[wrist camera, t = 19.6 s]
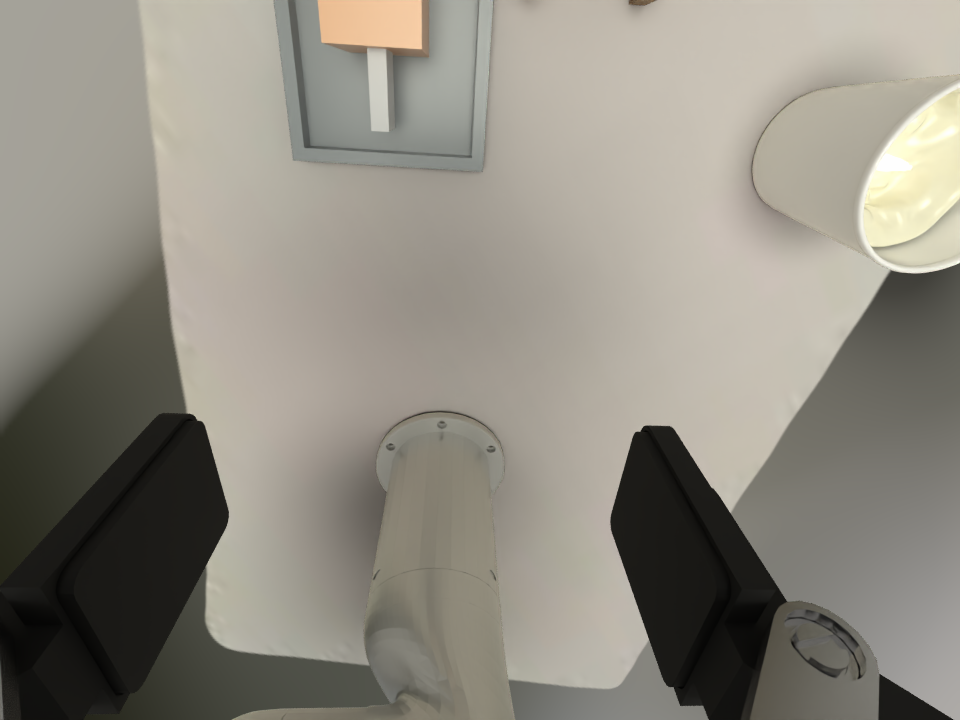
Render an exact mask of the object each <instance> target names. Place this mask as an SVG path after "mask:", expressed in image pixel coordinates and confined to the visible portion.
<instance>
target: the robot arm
mask: <svg viewBox="0 0 960 720" xmlns="http://www.w3.org/2000/svg"><path fill="white" fill-rule="evenodd" d="M376 474H377V477H378V480H379V482H380V484H381V486H382V487H383V489H384V490H385V492H386V493H387V495H386V501H385V506H384V512H383V518H382V523H381V529H380V535H379V540H378V546H377V552H376V557H375V563H374V569H373V574H372V580H371V586H370V591H369V597H368V603H367V608H366V614H365V620H364V645H365V650H366V655H367V659H368V661H369V664H370V667H371V669H372V672H373V674H374V675H375V677H376V679H377V681H378V683H379V685H380V687H381V688H382V690H383V692H384V693H385V695H386V696H387V698H388V700H389V702H390V703H391V704H388V705H376V706H368V707H364V708H295V709H294V708H293V709H272V710H261V711H255V712H250V713H247V714H244V715H241V716H239V717H237V718H235V719H232V720H515V717H514V712H513V706H512V700H511V695H510V689H509V683H508V676H507V668H506V661H505V652H504V643H503V632H502V621H501V609H500V599H499V586H498V574H497V562H496V550H495V537H494V525H493V513H492V500H491V496H492V495H493V493H494V492H495V491H496V490H497V488H498V487H499V485H500V483H501V481H502V478H503V474H504V456H503V451H502V448H501V446H500V443H499V441H498V440H497V439H496V437H495V436H494V434H493V433H492V432H491V431H490V430H489V429H487V428H486V427H485V426H484V425H482V424H480V423H479V422H477V421H476V420H473V419H471V418H468V417H466V416H463V415H458V414H454V413H443V412H436V413H426V414H422V415H418V416H414V417H412V418H409V419H407V420H405V421H403V422H401V423H400V424H398V425H397V426H395V427H394V428H393V429H392V430H391V431H390V432H389V433H388V434H387V435H386V436H385V438H384V439H383V441H382V443H381V444H380V447H379V450H378V453H377V459H376ZM228 518H229V511H228V507H227V503H226V500H225V496H224V493H223V489H222V485H221V482H220V478H219V475H218V471H217V468H216V464H215V460H214V457H213V453H212V450H211V446H210V442H209V439H208V435H207V432H206V428H205V425H204V423H203V422H202V421H197V419H196V417H195V416H194V415H192V414H178V413H176V414H175V413H162V414H159V415H158V416H157V417H156V418H155V419H154V420H153V421H152V422H151V423H150V424H149V425H148V426H147V427H146V428H145V430H144V431H143V432H142V433H141V434H140V435H139V436H138V437H137V438H136V439H135V440H134V442H133V443H132V444H131V445H130V446H129V447H128V448H127V449H126V450H125V451H124V452H123V453H122V455H121V456H120V457H119V458H118V459H117V460H116V461H115V462H114V463H113V464H112V465H111V466H110V468H109V469H108V470H107V471H106V472H105V473H104V474H103V475H102V476H101V477H100V478H99V479H98V480H97V482H96V483H95V484H94V485H93V486H92V487H91V488H90V489H89V490H88V491H87V492H86V494H85V495H84V496H83V497H82V498H81V499H80V500H79V501H78V502H77V503H76V504H75V505H74V506H73V507H72V509H71V510H70V511H69V512H68V513H67V514H66V515H65V516H64V517H63V518H62V520H61V521H60V522H59V523H58V524H57V525H56V526H55V527H54V528H53V529H52V530H51V531H50V533H48V535H47V536H46V537H45V538H44V539H43V540H42V541H41V542H40V543H39V544H38V545H37V547H36V548H35V549H34V550H33V551H32V552H31V553H30V554H29V555H28V556H27V557H26V558H25V559H24V561H23V562H22V563H21V564H20V565H19V566H18V567H17V568H16V569H15V570H14V571H13V572H12V574H11V575H10V576H9V577H8V578H7V579H6V580H5V581H4V582H3V583H2V584H1V585H0V720H83V719H84V718H85V716H86V714H119V713H120V711H121V709H122V707H123V705H124V703H125V702H126V700H127V698H128V696H129V694H130V693H135V692H136V691H138V690H139V688H140V687H141V686H142V685H143V683H144V681H145V680H146V678H147V676H148V674H149V672H150V670H151V668H152V666H153V665H154V663H155V661H156V659H157V657H158V655H159V653H160V651H161V649H162V648H163V646H164V644H165V642H166V640H167V638H168V636H169V634H170V632H171V631H172V629H173V627H174V625H175V623H176V621H177V619H178V617H179V615H180V613H181V612H182V610H183V608H184V606H185V604H186V602H187V600H188V599H189V597H190V595H191V593H192V591H193V589H194V587H195V585H196V583H197V581H198V580H199V578H200V576H201V574H202V572H203V570H204V568H205V566H206V565H207V563H208V561H209V559H210V557H211V555H212V553H213V551H214V550H215V548H216V546H217V544H218V542H219V540H220V538H221V536H222V534H223V533H224V531H225V529H226V526H227V523H228ZM610 523H611V531H612V534H613V537H614V540H615V543H616V546H617V548H618V551H619V554H620V557H621V560H622V563H623V566H624V569H625V571H626V574H627V577H628V580H629V583H630V586H631V589H632V592H633V594H634V597H635V600H636V603H637V606H638V609H639V612H640V615H641V617H642V620H643V623H644V626H645V629H646V632H647V635H648V638H649V640H650V643H651V646H652V649H653V652H654V655H655V658H656V661H657V663H658V666H659V669H660V672H661V675H662V677H663V680H664V682H665V683H666V685H667V686H668V687H674V689H675V692H676V695H677V698H678V701H679V704H680V706H696V705H697V706H701V705H702V706H704V709H705V711H706V714H707V716H708V719H709V720H953V719H952V718H950V717H948V716H947V715H945V714H944V713H942V712H940V711H938V710H937V709H935V708H934V707H932V706H930V705H929V704H927V703H926V702H924V701H923V700H921V699H919V698H918V697H916V696H914V695H913V694H911V693H910V692H908V691H906V690H904V689H903V688H901V687H900V686H898V685H897V684H895V683H893V682H892V681H890V680H889V679H887V678H885V677H883V676H882V675H881V674H879V670H878V665H877V660H876V658H875V656H874V654H873V652H872V650H871V648H870V646H869V645H868V644H867V643H866V641H865V640H864V639H863V638H862V636H861V635H860V634H859V633H858V632H857V631H856V630H855V629H854V628H853V627H852V626H850V625H849V624H848V623H847V622H846V621H845V620H843V619H842V618H840V617H839V616H837V615H836V614H834V613H832V612H831V611H829V610H827V609H825V608H823V607H820V606H818V605H816V604H813V603H808V602H803V601H791V602H787V601H786V599H785V598H784V596H783V594H782V593H781V591H780V590H779V588H778V587H777V585H776V584H775V582H774V580H773V579H772V577H771V576H770V574H769V573H768V571H767V570H766V568H765V566H764V565H763V563H762V562H761V560H760V559H759V557H758V556H757V554H756V552H755V551H754V549H753V548H752V546H751V545H750V543H749V542H748V540H747V539H746V537H745V536H744V534H743V532H742V531H741V529H740V528H739V526H738V524H737V523H736V521H735V520H734V518H733V517H732V515H731V514H730V512H729V510H728V509H727V507H726V506H725V504H724V503H723V501H722V500H721V498H720V496H719V495H718V494H717V492H716V491H715V490H714V489H713V488H711V486H710V485H709V483H708V482H707V480H706V479H705V477H704V475H703V474H702V472H701V471H700V469H699V468H698V466H697V464H696V463H695V461H694V460H693V458H692V457H691V455H690V453H689V452H688V450H687V449H686V447H685V446H684V444H683V442H682V441H681V439H680V438H679V436H678V435H677V433H676V431H675V430H674V429H673V428H672V427H670V426H644V427H643V428H642V430H641V432H635V434H634V436H633V438H632V442H631V446H630V449H629V453H628V456H627V460H626V463H625V467H624V471H623V474H622V478H621V481H620V485H619V488H618V492H617V496H616V499H615V503H614V506H613V510H612V513H611V520H610Z"/></svg>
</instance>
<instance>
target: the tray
mask: <svg viewBox="0 0 960 720" xmlns="http://www.w3.org/2000/svg"><path fill="white" fill-rule="evenodd" d="M274 7H275V16H276V24H277V32H278V40H279V48H280V56H281V65H282V73H283V81H284V89H285V97H286V105H287V113H288V122H289V130H290V138H291V146H292V154H293V160H295V161H311V162H328V163H344V164H361V165H378V166H394V167H411V168H427V169H444V170H460V171H477V172H483V159H484V143H485V126H486V110H487V94H488V77H489V61H490V44H491V28H492V12H493V0H429V58H428V57H413V56H398V55H393V79H394V111H395V129H393V130H391V131H390V132H381V131H371V115H370V96H369V77H368V58H367V53H353V52H347V51H344V50H341V49H338V48H336V47H333V46H330V45H327V44H324V43H322V42H321V31H320V20H319V9H318V0H274Z"/></svg>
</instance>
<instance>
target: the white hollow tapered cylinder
mask: <svg viewBox="0 0 960 720" xmlns="http://www.w3.org/2000/svg"><path fill="white" fill-rule="evenodd" d="M752 175H753V182H754V186H755V189H756V191H757V193H758V195H759V196H760V198H761V199H762V200H763V201H764V202H765V203H766V204H767V205H768V206H770V207H771V208H773V209H774V210H776V211H778V212H780V213H782V214H784V215H785V216H787V217H789V218H791V219H793V220H795V221H797V222H799V223H801V224H803V225H805V226H807V227H809V228H811V229H813V230H815V231H817V232H819V233H821V234H823V235H825V236H827V237H829V238H831V239H833V240H835V241H837V242H839V243H841V244H842V245H844V246H846V247H848V248H850V249H852V250H854V251H856V252H858V253H860V254H862V255H864V256H866V257H868V258H870V259H871V260H873V261H874V262H876V263H877V264H879V265H881V266H882V267H885V268H887V269H890V270H893V271H897V272H903V273H925V272H931V271H937V270H940V269H944V268H948V267H951V266H953V265H956V264H958V263H960V74H957V75H947V76H937V77H926V78H916V79H906V80H896V81H886V82H876V83H866V84H856V85H847V86H838V87H831V88H825V89H820V90H816V91H813V92H810V93H808V94H806V95H803V96H801V97H800V98H798V99H796V100H795V101H793V102H792V103H790V104H789V105H788V106H786V107H785V108H784V109H783V110H782V111H781V112H780V113H779V114H778V115H777V116H776V117H775V118H774V119H773V120H772V121H771V123H770V124H769V125H768V127H767V128H766V130H765V131H764V133H763V135H762V137H761V139H760V141H759V143H758V145H757V148H756V151H755V155H754V159H753V167H752Z"/></svg>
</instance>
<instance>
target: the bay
mask: <svg viewBox="0 0 960 720" xmlns="http://www.w3.org/2000/svg"><path fill="white" fill-rule="evenodd" d="M653 1H656V0H630V1H629V4H633V5H647V4H649V3H651V2H653Z"/></svg>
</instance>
